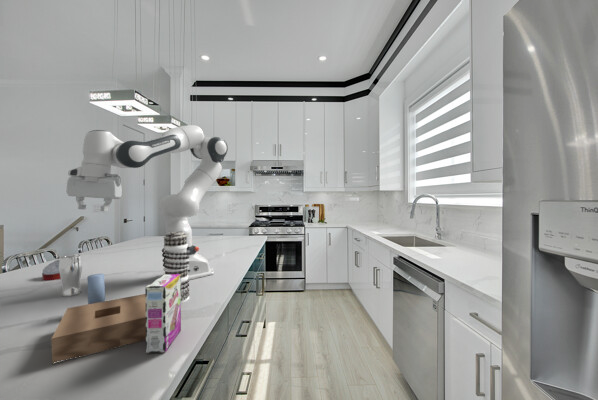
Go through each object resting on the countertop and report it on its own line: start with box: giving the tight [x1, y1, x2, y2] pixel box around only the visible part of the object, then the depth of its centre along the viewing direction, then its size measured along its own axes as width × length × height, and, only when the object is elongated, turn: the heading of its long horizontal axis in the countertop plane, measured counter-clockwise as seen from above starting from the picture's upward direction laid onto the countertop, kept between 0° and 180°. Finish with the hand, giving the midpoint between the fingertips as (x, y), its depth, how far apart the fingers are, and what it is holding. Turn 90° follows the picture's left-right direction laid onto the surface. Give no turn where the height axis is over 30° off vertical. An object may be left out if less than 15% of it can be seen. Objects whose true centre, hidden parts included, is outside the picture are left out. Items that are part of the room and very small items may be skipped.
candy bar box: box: [144, 274, 182, 354], centre depth 71 cm, size 11×5×16 cm, turn 5°
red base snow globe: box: [41, 259, 61, 282], centre depth 129 cm, size 11×10×10 cm
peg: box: [86, 273, 106, 304], centre depth 90 cm, size 4×4×12 cm
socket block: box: [51, 293, 146, 363], centre depth 76 cm, size 20×20×6 cm
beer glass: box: [58, 253, 83, 298], centre depth 107 cm, size 7×7×15 cm
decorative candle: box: [161, 231, 190, 304], centre depth 99 cm, size 9×9×25 cm
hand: (93, 210), depth 100 cm, fingers open, 8 cm apart
